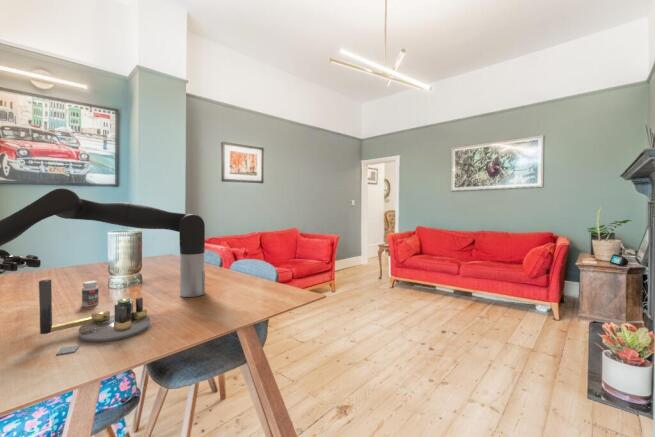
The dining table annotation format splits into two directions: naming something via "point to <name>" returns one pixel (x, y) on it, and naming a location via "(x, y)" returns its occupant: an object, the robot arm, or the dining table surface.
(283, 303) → the dining table surface
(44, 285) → the lever
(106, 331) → the tribrach plate
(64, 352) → the plate
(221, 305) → the dining table surface
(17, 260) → the robot arm
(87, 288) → the pill bottle
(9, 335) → the dining table surface
